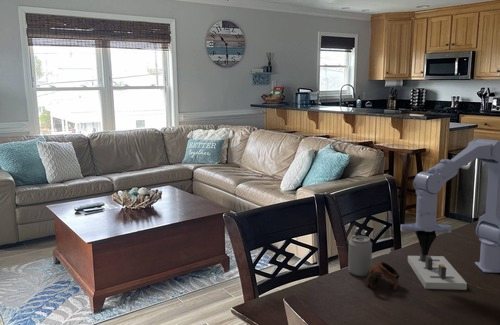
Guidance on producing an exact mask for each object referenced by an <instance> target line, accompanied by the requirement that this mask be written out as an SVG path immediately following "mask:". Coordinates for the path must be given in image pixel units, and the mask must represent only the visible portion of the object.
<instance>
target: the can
mask: <svg viewBox="0 0 500 325" xmlns="http://www.w3.org/2000/svg"><path fill="white" fill-rule="evenodd" d="M372 254H373V242H372V241H371V238H370V237H368V236H366V235H353V236H351V237H350V240H349V241H348V257H347V258H348V261H347V262H348V263H347V264H348V268H347V270H348V272H349V273H350V274H351V275H353V276H356V277H366V275H367V272H368V271H369V269H370V268H371V267H372V266H373V264H372V262H373V261H372V260H373V256H372Z"/></svg>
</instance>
